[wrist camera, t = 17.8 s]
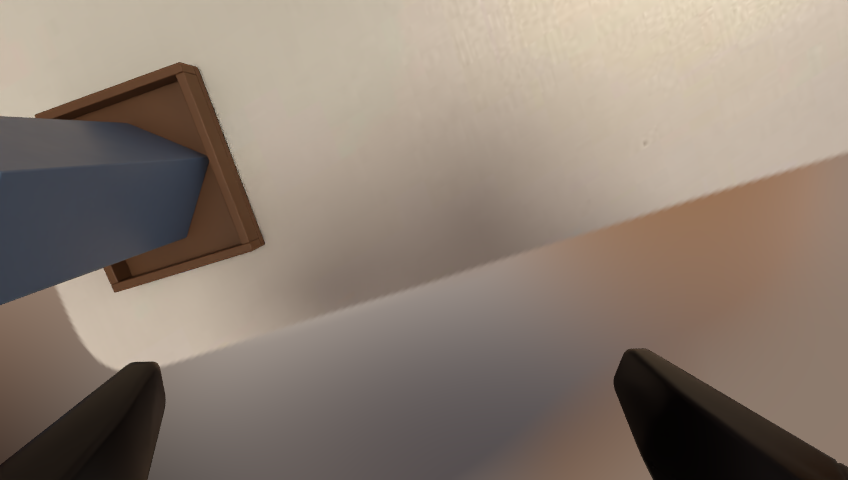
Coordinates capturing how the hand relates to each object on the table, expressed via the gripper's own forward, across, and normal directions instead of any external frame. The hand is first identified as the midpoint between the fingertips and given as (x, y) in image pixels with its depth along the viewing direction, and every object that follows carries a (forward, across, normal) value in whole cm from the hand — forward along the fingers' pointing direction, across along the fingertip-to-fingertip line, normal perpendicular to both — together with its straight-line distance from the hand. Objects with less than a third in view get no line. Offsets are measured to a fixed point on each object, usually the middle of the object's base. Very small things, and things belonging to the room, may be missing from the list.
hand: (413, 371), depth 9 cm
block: (+15, +9, +3) cm, 18 cm away
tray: (+16, +9, +3) cm, 18 cm away
